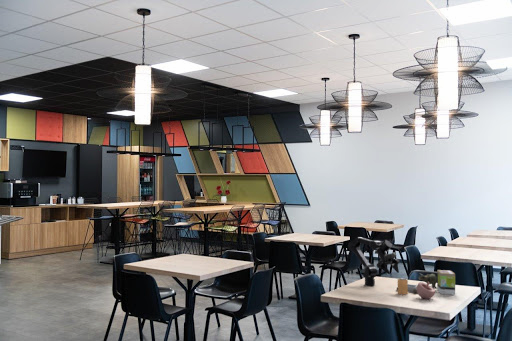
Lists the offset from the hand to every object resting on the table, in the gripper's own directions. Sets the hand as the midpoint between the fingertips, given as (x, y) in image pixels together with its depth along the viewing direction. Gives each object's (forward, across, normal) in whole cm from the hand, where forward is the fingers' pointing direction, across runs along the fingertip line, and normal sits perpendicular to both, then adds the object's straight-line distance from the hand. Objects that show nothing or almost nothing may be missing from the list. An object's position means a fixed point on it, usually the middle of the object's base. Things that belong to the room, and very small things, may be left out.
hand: (394, 273), depth 341 cm
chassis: (+12, +13, +6) cm, 18 cm away
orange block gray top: (+15, -1, +3) cm, 16 cm away
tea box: (+24, +30, -6) cm, 39 cm away
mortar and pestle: (+28, +2, -10) cm, 30 cm away
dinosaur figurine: (+13, +35, +6) cm, 38 cm away
